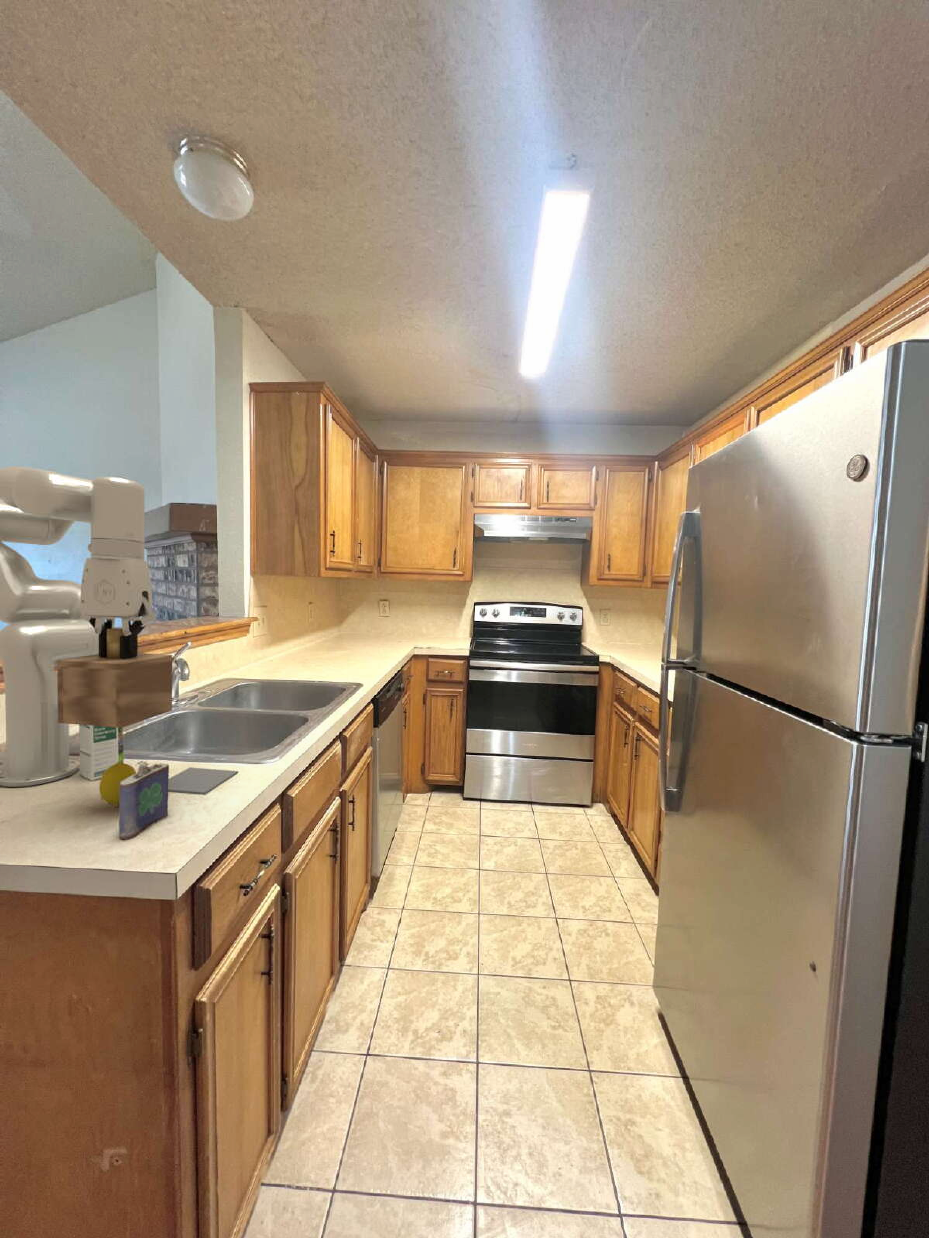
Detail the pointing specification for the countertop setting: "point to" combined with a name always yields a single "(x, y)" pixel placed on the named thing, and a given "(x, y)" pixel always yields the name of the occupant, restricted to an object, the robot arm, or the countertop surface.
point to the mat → (198, 780)
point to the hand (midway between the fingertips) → (118, 656)
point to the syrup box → (99, 749)
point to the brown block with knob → (113, 687)
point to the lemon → (114, 781)
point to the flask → (143, 799)
